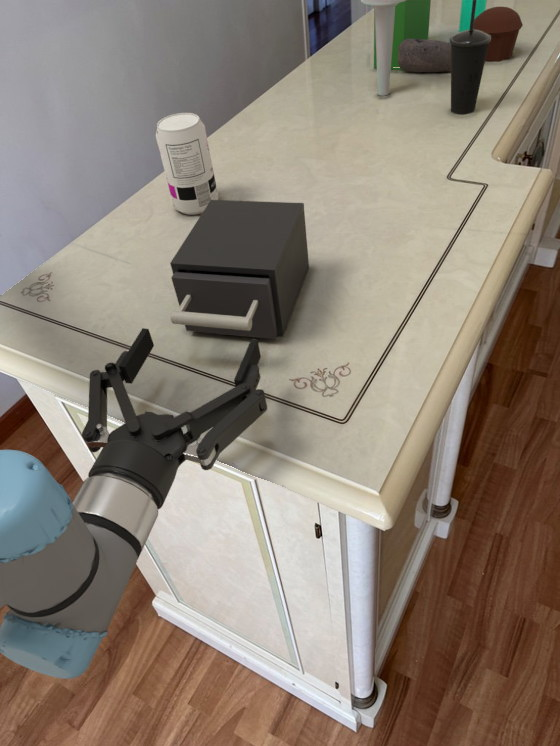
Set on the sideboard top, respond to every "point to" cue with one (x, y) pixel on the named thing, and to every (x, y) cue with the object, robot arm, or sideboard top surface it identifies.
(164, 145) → the supplement can
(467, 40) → the drinking cup
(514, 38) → the muffin
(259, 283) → the open drawer with handle
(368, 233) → the sideboard top surface
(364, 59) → the sideboard top surface
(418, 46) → the perforated stone tool
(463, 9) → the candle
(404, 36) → the hardback book
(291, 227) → the drawer cabinet
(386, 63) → the novelty light stick
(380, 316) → the sideboard top surface
